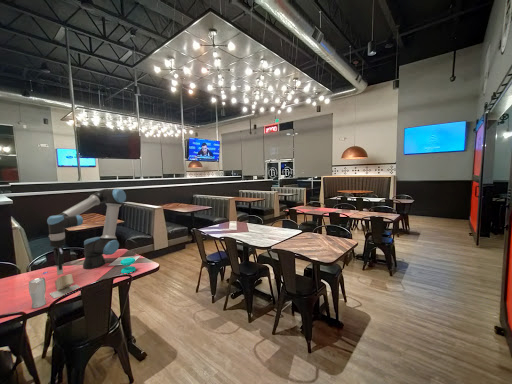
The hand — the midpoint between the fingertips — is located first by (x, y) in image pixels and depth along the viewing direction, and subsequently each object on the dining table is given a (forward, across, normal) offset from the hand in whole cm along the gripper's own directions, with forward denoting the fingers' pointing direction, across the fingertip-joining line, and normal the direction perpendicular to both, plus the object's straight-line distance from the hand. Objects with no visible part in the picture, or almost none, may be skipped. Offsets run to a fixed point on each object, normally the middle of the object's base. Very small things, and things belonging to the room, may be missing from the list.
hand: (60, 274), depth 147 cm
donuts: (+10, +12, +37) cm, 40 cm away
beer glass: (+10, +15, -14) cm, 22 cm away
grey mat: (+10, +8, 0) cm, 13 cm away
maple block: (+7, +1, 0) cm, 7 cm away
